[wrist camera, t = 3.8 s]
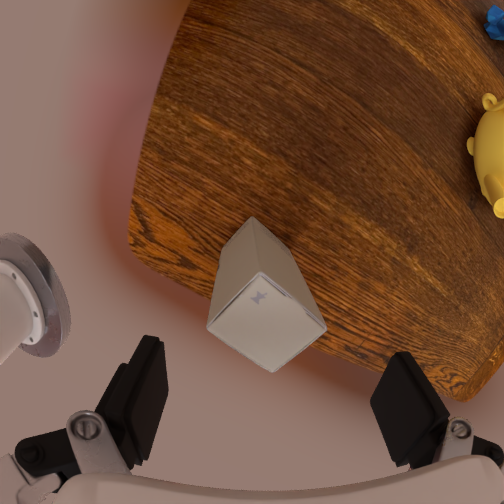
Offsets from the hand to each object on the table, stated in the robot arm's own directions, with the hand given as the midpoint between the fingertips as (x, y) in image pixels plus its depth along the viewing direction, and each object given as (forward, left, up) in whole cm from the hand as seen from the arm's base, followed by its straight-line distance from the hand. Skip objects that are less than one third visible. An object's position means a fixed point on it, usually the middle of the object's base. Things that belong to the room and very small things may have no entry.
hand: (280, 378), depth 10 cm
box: (0, 0, -17) cm, 17 cm away
